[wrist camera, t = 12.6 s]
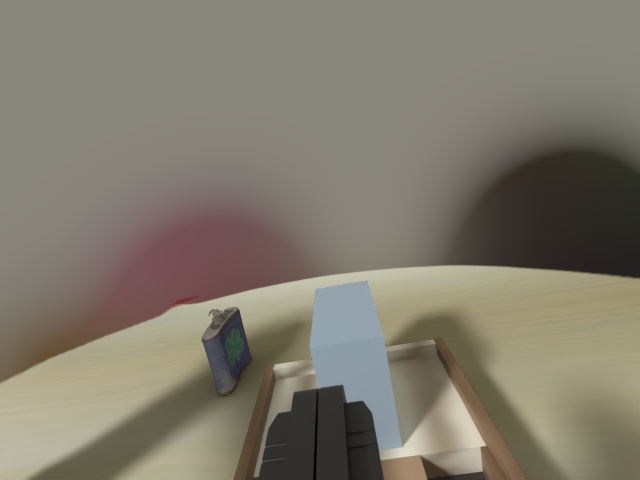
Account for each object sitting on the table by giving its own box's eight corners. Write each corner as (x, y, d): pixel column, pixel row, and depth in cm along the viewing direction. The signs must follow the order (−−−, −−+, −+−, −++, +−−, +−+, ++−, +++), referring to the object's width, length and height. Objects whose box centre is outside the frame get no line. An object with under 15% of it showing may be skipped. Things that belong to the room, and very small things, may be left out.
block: (334, 456, 30) (309, 348, 27) (333, 371, 41) (315, 289, 39) (402, 447, 29) (383, 336, 26) (381, 363, 41) (367, 280, 38)
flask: (231, 396, 45) (209, 325, 43) (212, 397, 46) (189, 327, 43) (255, 355, 54) (238, 294, 51) (238, 356, 55) (220, 297, 52)
